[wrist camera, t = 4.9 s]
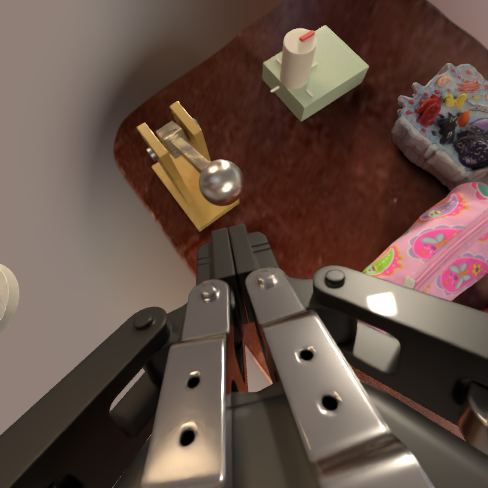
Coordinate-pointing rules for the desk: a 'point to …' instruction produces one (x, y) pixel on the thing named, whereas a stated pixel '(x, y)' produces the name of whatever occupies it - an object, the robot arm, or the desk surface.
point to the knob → (297, 58)
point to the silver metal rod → (205, 168)
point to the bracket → (184, 171)
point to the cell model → (447, 126)
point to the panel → (319, 75)
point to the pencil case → (441, 247)
